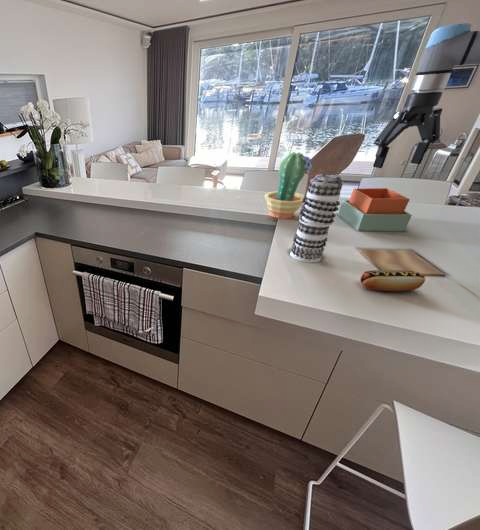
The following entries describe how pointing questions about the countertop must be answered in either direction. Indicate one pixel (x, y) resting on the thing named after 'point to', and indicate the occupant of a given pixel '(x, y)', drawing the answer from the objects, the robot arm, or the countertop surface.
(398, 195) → the terracotta bin
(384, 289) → the hot dog
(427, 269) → the wooden square board
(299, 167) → the potted cactus
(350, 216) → the sage bin
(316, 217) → the decorative candle
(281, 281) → the countertop surface
